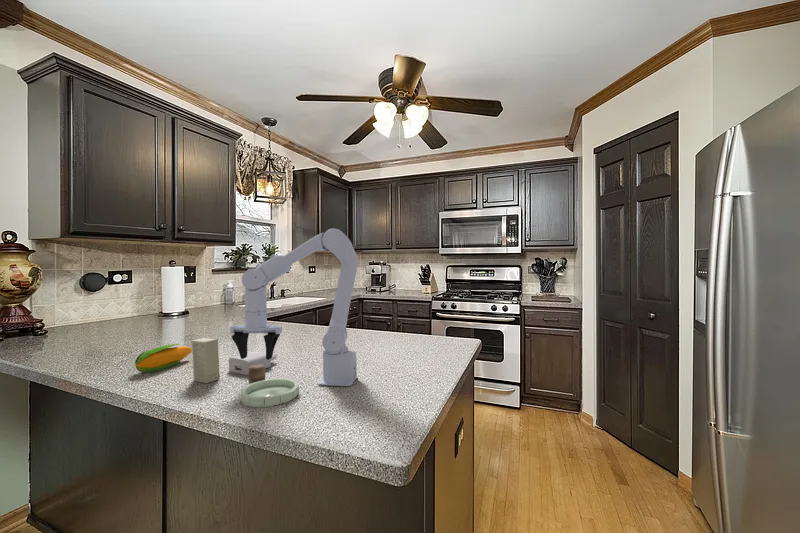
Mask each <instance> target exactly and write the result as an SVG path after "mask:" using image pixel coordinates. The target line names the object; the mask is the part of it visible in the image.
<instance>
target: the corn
mask: <svg viewBox="0 0 800 533" xmlns="http://www.w3.org/2000/svg"><path fill="white" fill-rule="evenodd" d="M178 345H180V343H173V344H167V345H161V346H158V347H155V348H151V349H148V350H145V351H142V352H141V353H139V355H138V356H137V358H136V359H135V360H134V366H135V368H136V370H137V371H138V372H141V373H147V374H148V373H155V371H156V372H158V371H162V370H164V369H167V368H171V367H173V365H174V366H176V365H177V364H180V363H181V362H182V360H183V359H185V358H187V357H188V355H190V354H191V353H192V347H189V346H185V345H184V346H178Z"/></svg>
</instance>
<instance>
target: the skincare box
mask: <svg viewBox="0 0 800 533" xmlns="http://www.w3.org/2000/svg"><path fill="white" fill-rule="evenodd" d="M191 349H192V352H191V353H192V372H193V373H192V374H193V381H194V382H198V383H203V384H204V383H205V384H210V383H211V382H215V381H217V380H219V379H220V360H219V359H220V358H219V339H218V338H214V337H213V338H212V337H202V338H198V339H192V340H191Z"/></svg>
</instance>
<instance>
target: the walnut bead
mask: <svg viewBox="0 0 800 533" xmlns="http://www.w3.org/2000/svg"><path fill="white" fill-rule="evenodd" d="M248 369H249V375H248V384H251V383H254V382H257V381H261V380H266V369H265V365H253V366H250V367H249V368H248Z"/></svg>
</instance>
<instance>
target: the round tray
mask: <svg viewBox="0 0 800 533" xmlns="http://www.w3.org/2000/svg"><path fill="white" fill-rule="evenodd" d="M299 392H300V385H299V382H298V381H297V380H295V379H291V378H286V377H285V378H282V377H280V378H279V377H275V378H269V379H267V378H266V379H265V380H261V381H257V382H254V383H251V384H249V383H248V384H247V385H245V386H244V387H242V388H241V389H240V402H241V404H243V405H244V406H246V407H251V408H268V407H269V406H270V407H275V406H274V405H276V406H279V404H280V405H283V404H282V403H284V404H287V403H288V401H289V402H291V401H293V400H294V399H296V398H297V397H298V396H299ZM297 395H298V396H297ZM296 396H297V397H296ZM295 397H296V398H295ZM292 399H293V400H292ZM290 400H291V401H290ZM270 407H269V408H270Z"/></svg>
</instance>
